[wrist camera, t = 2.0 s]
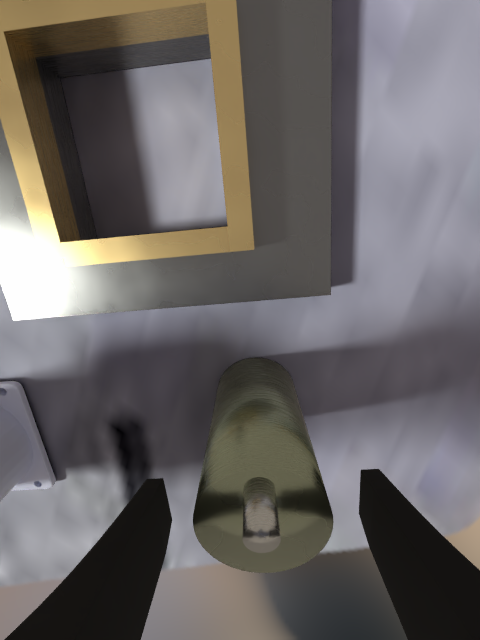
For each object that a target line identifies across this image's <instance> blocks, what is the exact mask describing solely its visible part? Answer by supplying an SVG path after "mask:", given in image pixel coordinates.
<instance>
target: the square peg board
mask: <svg viewBox="0 0 480 640" xmlns="http://www.w3.org/2000/svg"><path fill="white" fill-rule="evenodd" d="M207 58H211V62H212V72H213V82H214V92H215V102H216V113H217V123H218V133H219V143H220V153H221V163H222V174H223V184H224V194H225V204H226V214H227V224H228V226H227V227H217V228H206V229H196V230H186V231H175V232H165V233H155V234H144V235H134V236H124V237H113V238H103V239H97V236H96V232H95V228H94V223H93V219H92V215H91V210H90V206H89V202H88V197H87V193H86V189H85V184H84V180H83V176H82V171H81V167H80V163H79V158H78V154H77V150H76V145H75V141H74V137H73V132H72V128H71V124H70V119H69V115H68V111H67V106H66V102H65V98H64V93H63V89H62V85H61V80H60V78H62V77H70V76H77V75H85V74H92V73H100V72H108V71H115V70H123V69H131V68H138V67H146V66H153V65H161V64H169V63H176V62H184V61H192V60H199V59H207ZM331 111H332V0H0V282H1V285H2V288H3V291H4V294H5V297H6V300H7V303H8V306H9V309H10V311H11V314H12V317H13V320H26V319H39V318H51V317H63V316H76V315H88V314H100V313H113V312H125V311H137V310H150V309H162V308H174V307H187V306H199V305H211V304H224V303H236V302H248V301H261V300H273V299H285V298H298V297H310V296H322V295H331Z"/></svg>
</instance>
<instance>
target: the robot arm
mask: <svg viewBox="0 0 480 640" xmlns="http://www.w3.org/2000/svg"><path fill="white" fill-rule="evenodd" d="M4 389H5V390H6V391H5V390H4ZM55 482H56V479H55V476H54V473H53V470H52V467H51V465H50V462H49V459H48V456H47V453H46V451H45V448H44V445H43V442H42V440H41V437H40V434H39V431H38V428H37V426H36V423H35V420H34V417H33V414H32V412H31V409H30V406H29V403H28V400H27V398H26V395H25V392H24V389H23V387H22V385H21V384H20V383H18V382H16V381H4V382H0V501H1V500H2V499H3V498H4V497H5V496H6V495H7V494H8V493H9V492H10V491H11V490H33V489H49V488H51V487H52V486H53V485H54V484H55ZM359 515H360V518H361V521H362V525H363V528H364V531H365V534H366V538H367V541H368V544H369V547H370V550H371V552H372V554H373V557H374V559H375V562H376V564H377V566H378V569H379V571H380V574H381V576H382V578H383V581H384V583H385V586H386V588H387V591H388V593H389V595H390V598H391V600H392V602H393V605H394V607H395V610H396V612H397V614H398V617H399V619H400V622H401V624H402V626H403V629H404V631H405V634H406V636H407V639H408V640H480V570H479V569H477V567H475V566H474V565H473V564H472V563H471V562H470V561H469V560H468V559H467V558H466V557H465V556H463V555H462V554H461V553H460V552H459V551H458V550H457V549H456V548H455V547H454V546H453V545H452V544H451V543H450V542H449V541H448V540H447V539H446V538H445V537H443V536H442V535H441V534H440V533H439V532H438V531H437V530H436V529H435V528H434V527H433V526H432V525H431V524H430V523H429V522H428V521H427V520H426V519H425V518H424V517H423V516H422V515H421V514H420V513H419V511H418V510H417V509H416V508H415V507H414V506H413V505H412V504H411V503H410V502H409V501H408V500H407V499H406V498H405V497H404V496H403V495H402V494H401V492H400V491H399V490H398V489H397V488H396V487H395V486H394V485H393V484H392V483H391V482H390V481H389V479H388V478H387V477H386V476H385V475H384V474H383V473H382V472H381V471H380V470H379V469H369V470H361V480H360V502H359ZM171 523H172V517H171V512H170V508H169V503H168V498H167V494H166V489H165V484H164V480H163V478H160V479H147V480H146V481H145V482H144V483H143V485H142V486H141V487H140V489H139V490H138V491H137V492H136V494H135V495H134V496H133V498H132V499H131V500H130V502H129V503H128V504H127V506H126V507H125V508H124V509H123V511H122V512H121V513H120V515H119V516H118V517H117V518H116V520H115V521H114V522H113V523H112V525H111V526H110V527H109V528H108V530H107V531H106V532H105V533H104V534H103V536H102V537H101V538H100V539H99V541H98V542H97V543H96V544H95V545H94V546H93V548H92V549H91V550H90V551H89V552H88V553H87V555H86V556H85V557H84V558H83V559H82V560H81V561H80V563H79V564H78V565H77V566H76V567H75V568H74V570H73V571H72V572H71V573H70V574H69V575H68V576H67V577H66V578H65V579H64V580H63V582H62V583H61V584H60V585H59V586H58V587H57V588H56V589H55V590H54V591H53V592H52V593H51V594H50V595H49V596H48V597H47V598H46V599H45V601H43V603H42V604H41V605H40V606H39V607H38V608H37V609H36V610H35V611H34V612H33V613H32V614H31V615H29V616H28V617H27V618H26V619H25V620H24V621H23V622H22V623H21V624H20V625H19V626H18V627H17V628H16V629H15V630H14V631H13V632H12V633H11V634H10V635H9V636H8V637H7V638H6V639H5V640H141V636H142V633H143V630H144V626H145V622H146V619H147V616H148V613H149V609H150V606H151V602H152V598H153V595H154V592H155V588H156V585H157V582H158V578H159V575H160V572H161V568H162V565H163V561H164V558H165V554H166V549H167V544H168V539H169V534H170V528H171Z"/></svg>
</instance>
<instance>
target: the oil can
mask: <svg viewBox="0 0 480 640" xmlns="http://www.w3.org/2000/svg"><path fill="white" fill-rule="evenodd" d="M193 526H194V531H195V534H196V536H197V539H198V541H199V542H200V544H201V545H202V547H203V548H204V549H205V550H206V551H207V552H208V553H209V554H210V555H211V556H213V557H214V558H215V559H217V560H218V561H220V562H222V563H224V564H226V565H228V566H230V567H233V568H236V569H240V570H243V571H249V572H257V573H271V572H279V571H285V570H288V569H292V568H295V567H297V566H300V565H302V564H304V563H306V562H308V561H309V560H311V559H312V558H314V557H315V556H316V555H317V554H318V553H319V552H320V551H321V550H322V549H323V548H324V547H325V545H326V544H327V542H328V540H329V538H330V536H331V533H332V529H333V514H332V510H331V507H330V503H329V500H328V497H327V493H326V490H325V487H324V484H323V480H322V477H321V474H320V470H319V467H318V464H317V460H316V457H315V454H314V450H313V447H312V444H311V440H310V437H309V434H308V430H307V427H306V424H305V420H304V417H303V414H302V411H301V407H300V404H299V401H298V397H297V394H296V391H295V387H294V384H293V381H292V379H291V377H290V375H289V373H288V372H287V371H286V370H285V369H284V368H283V367H282V366H281V365H279V364H278V363H276V362H274V361H271V360H269V359H265V358H247V359H244V360H241V361H238V362H236V363H235V364H233V365H232V366H230V367H229V368H228V369H227V370H226V371H225V372H224V374H223V375H222V377H221V379H220V381H219V385H218V390H217V395H216V400H215V405H214V410H213V416H212V421H211V426H210V431H209V436H208V442H207V447H206V452H205V457H204V462H203V467H202V473H201V478H200V483H199V488H198V493H197V499H196V504H195V509H194V514H193Z"/></svg>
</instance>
